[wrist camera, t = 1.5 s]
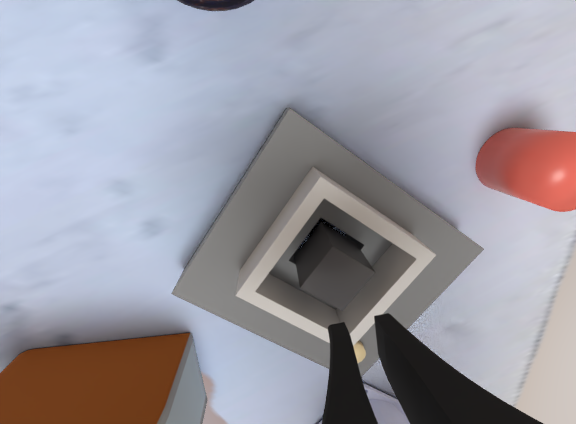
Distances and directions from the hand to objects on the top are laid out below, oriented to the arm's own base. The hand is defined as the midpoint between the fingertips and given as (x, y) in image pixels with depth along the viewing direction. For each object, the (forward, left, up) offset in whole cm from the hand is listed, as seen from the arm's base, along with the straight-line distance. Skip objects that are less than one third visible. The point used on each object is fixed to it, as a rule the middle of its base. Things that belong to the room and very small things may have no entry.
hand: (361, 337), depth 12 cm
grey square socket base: (-1, +1, -10) cm, 10 cm away
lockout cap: (-8, -12, -10) cm, 18 cm away
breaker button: (0, 0, -8) cm, 8 cm away
